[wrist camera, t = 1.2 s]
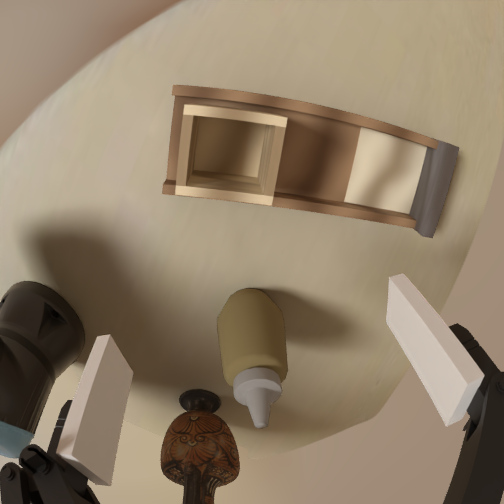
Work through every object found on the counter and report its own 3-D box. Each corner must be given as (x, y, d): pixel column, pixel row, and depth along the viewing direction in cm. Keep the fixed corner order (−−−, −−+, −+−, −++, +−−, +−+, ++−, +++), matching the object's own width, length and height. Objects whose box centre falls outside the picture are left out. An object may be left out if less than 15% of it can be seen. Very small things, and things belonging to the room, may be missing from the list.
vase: (176, 419, 52) (167, 568, 26) (159, 377, 46) (137, 558, 20) (238, 417, 53) (249, 570, 26) (232, 375, 47) (243, 564, 20)
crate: (185, 175, 32) (175, 194, 25) (194, 103, 28) (184, 104, 22) (263, 184, 33) (271, 205, 26) (275, 114, 29) (287, 117, 23)
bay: (167, 186, 33) (158, 201, 29) (178, 85, 28) (169, 82, 24) (412, 221, 37) (432, 238, 33) (434, 139, 32) (459, 147, 28)
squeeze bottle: (262, 269, 39) (285, 387, 23) (289, 314, 42) (318, 428, 26) (205, 296, 40) (196, 416, 24) (236, 337, 43) (242, 452, 27)
